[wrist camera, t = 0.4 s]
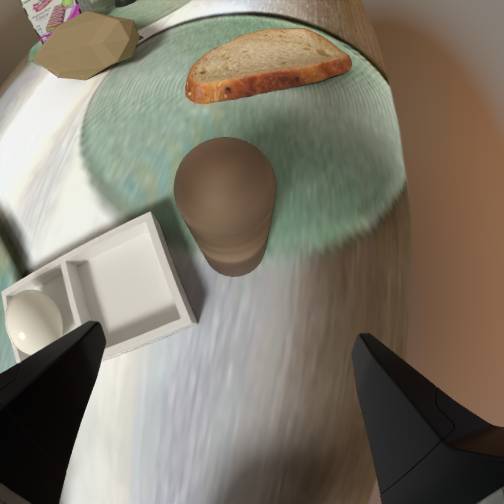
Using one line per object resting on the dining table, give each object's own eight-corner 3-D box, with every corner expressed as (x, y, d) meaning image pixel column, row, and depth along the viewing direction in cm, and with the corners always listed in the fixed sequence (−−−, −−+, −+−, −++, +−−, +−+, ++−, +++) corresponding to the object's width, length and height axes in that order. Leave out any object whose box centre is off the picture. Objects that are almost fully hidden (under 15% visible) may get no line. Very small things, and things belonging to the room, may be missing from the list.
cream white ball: (82, 345, 21) (43, 346, 15) (41, 361, 20) (2, 363, 14) (65, 285, 22) (27, 273, 16) (27, 306, 21) (-12, 297, 16)
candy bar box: (44, 51, 34) (15, -4, 18) (54, 38, 35) (28, -15, 19) (90, 33, 34) (64, -32, 18) (98, 21, 35) (76, -40, 20)
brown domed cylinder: (275, 261, 23) (302, 187, 11) (217, 286, 23) (183, 235, 11) (249, 208, 24) (251, 104, 12) (194, 231, 24) (150, 141, 12)
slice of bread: (173, 101, 28) (166, 78, 25) (232, 27, 33) (231, 8, 29) (332, 142, 27) (342, 119, 23) (352, 55, 32) (358, 36, 28)
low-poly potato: (52, 85, 31) (30, 100, 23) (51, 23, 23) (27, 20, 16) (141, 68, 36) (143, 77, 28) (144, 6, 28) (148, -4, 21)
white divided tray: (198, 323, 22) (191, 323, 19) (39, 383, 20) (24, 385, 17) (159, 222, 24) (150, 211, 22) (16, 295, 22) (1, 291, 20)
